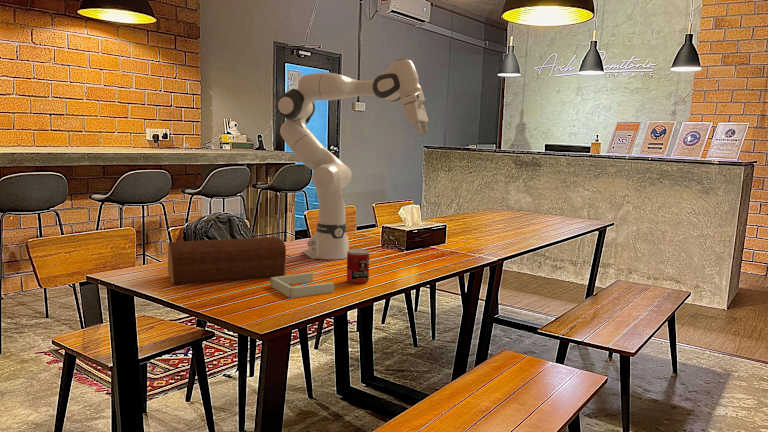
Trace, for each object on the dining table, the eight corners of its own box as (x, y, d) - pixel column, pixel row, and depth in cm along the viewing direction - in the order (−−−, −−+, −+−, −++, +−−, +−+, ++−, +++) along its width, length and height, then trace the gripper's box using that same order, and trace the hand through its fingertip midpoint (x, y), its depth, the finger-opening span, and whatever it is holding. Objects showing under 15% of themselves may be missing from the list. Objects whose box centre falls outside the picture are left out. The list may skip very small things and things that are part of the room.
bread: (167, 276, 208) (166, 238, 206) (276, 268, 224) (276, 233, 222) (171, 286, 194) (170, 246, 192) (286, 277, 210) (287, 240, 208)
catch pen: (270, 286, 197) (270, 277, 196) (311, 280, 205) (311, 272, 205) (291, 298, 183) (291, 288, 183) (333, 292, 192) (334, 283, 191)
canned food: (352, 285, 201) (353, 253, 200) (343, 279, 208) (343, 249, 207) (372, 283, 205) (373, 252, 203) (362, 278, 212) (363, 248, 210)
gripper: (411, 103, 240) (421, 136, 240) (398, 100, 220) (409, 136, 221) (426, 98, 238) (435, 131, 238) (414, 95, 218) (425, 131, 219)
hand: (422, 133), depth 229 cm, fingers open, 8 cm apart
